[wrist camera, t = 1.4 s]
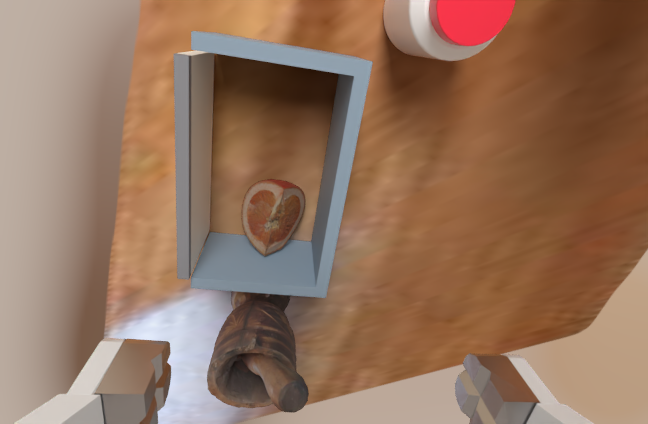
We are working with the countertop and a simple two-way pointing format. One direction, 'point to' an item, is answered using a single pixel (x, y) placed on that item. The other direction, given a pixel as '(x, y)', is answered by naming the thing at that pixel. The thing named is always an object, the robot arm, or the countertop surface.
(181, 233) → the white rectangular panel
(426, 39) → the pill bottle
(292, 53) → the crate
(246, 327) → the mortar and pestle
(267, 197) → the fruit slice
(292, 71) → the countertop surface
